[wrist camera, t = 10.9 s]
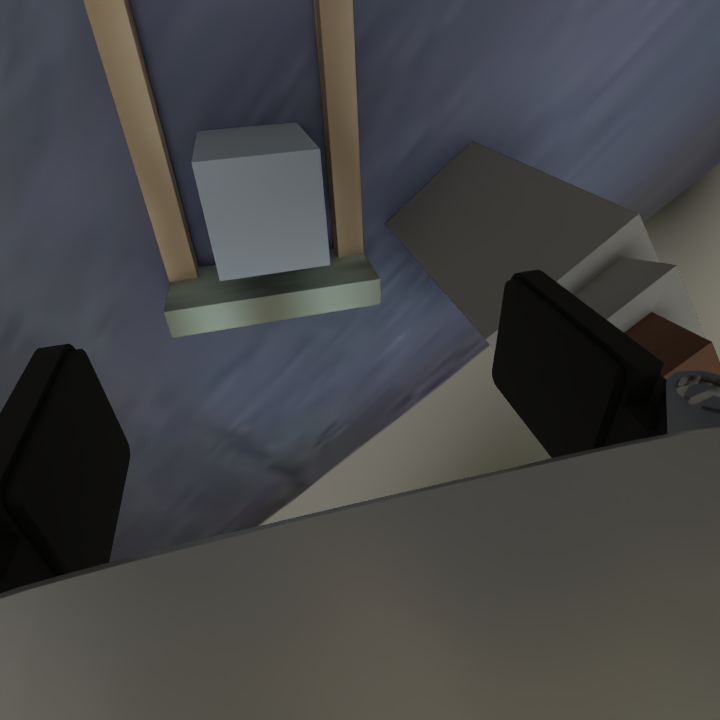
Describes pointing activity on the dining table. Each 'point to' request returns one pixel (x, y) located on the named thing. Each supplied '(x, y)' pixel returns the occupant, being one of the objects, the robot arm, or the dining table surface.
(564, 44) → the dining table surface
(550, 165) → the dining table surface
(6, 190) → the dining table surface
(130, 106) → the track
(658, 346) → the perfume bottle
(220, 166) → the grey rectangular block
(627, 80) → the dining table surface
